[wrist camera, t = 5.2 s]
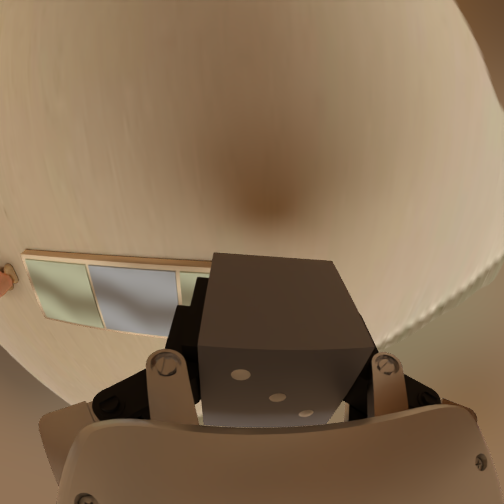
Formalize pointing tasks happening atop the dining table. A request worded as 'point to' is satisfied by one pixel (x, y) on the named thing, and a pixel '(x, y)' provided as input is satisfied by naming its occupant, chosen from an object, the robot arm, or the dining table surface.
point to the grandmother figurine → (7, 279)
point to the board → (112, 289)
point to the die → (277, 342)
